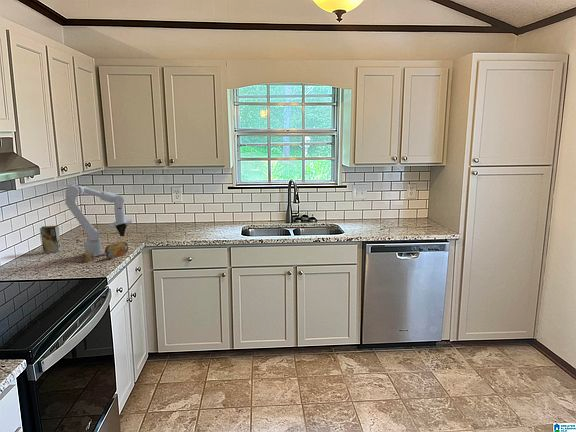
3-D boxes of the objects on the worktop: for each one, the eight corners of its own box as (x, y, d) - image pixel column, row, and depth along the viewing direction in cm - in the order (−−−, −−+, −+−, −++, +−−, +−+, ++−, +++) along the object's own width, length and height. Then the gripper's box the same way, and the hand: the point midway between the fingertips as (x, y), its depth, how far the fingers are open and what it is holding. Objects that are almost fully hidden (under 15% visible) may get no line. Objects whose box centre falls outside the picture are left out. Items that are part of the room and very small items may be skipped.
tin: (108, 260, 243) (106, 246, 241) (104, 259, 244) (103, 245, 243) (129, 253, 256) (127, 240, 255) (125, 253, 258) (124, 239, 256)
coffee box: (62, 249, 271) (58, 225, 268) (58, 252, 264) (55, 227, 262) (46, 250, 269) (43, 226, 266) (42, 253, 263) (39, 228, 260)
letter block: (82, 261, 242) (81, 253, 242) (89, 259, 246) (88, 251, 245) (86, 262, 240) (85, 254, 239) (94, 260, 244) (93, 252, 243)
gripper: (113, 217, 251) (116, 239, 253) (134, 213, 263) (136, 234, 265) (106, 216, 254) (108, 238, 257) (126, 212, 266) (128, 233, 269)
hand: (122, 236), depth 261 cm, fingers closed
